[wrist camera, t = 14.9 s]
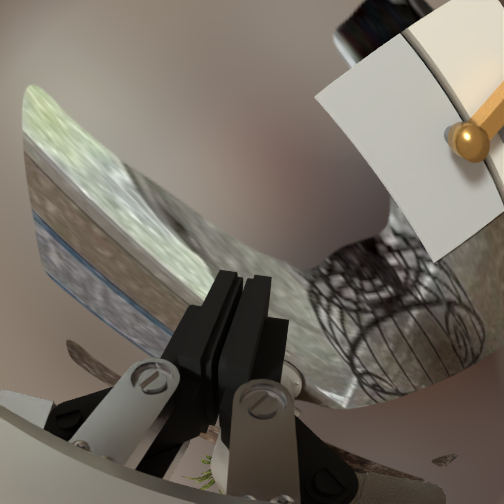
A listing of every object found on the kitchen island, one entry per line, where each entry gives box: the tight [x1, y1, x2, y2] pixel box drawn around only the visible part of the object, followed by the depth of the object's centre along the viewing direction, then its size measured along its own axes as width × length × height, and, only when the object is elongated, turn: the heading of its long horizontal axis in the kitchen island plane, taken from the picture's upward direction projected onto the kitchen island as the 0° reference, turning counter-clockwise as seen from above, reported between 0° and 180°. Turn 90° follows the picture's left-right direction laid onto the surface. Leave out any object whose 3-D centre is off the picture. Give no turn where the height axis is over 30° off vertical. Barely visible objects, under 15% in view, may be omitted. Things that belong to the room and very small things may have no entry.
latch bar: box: [448, 81, 504, 163], centre depth 22 cm, size 13×4×3 cm, turn 141°
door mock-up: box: [314, 0, 504, 263], centre depth 25 cm, size 24×26×6 cm
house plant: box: [186, 455, 223, 494], centre depth 54 cm, size 14×14×16 cm
